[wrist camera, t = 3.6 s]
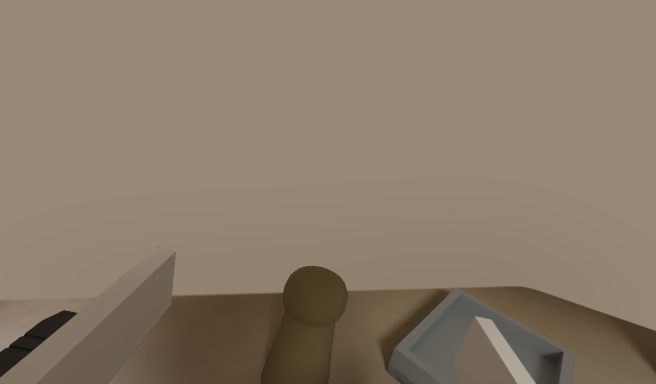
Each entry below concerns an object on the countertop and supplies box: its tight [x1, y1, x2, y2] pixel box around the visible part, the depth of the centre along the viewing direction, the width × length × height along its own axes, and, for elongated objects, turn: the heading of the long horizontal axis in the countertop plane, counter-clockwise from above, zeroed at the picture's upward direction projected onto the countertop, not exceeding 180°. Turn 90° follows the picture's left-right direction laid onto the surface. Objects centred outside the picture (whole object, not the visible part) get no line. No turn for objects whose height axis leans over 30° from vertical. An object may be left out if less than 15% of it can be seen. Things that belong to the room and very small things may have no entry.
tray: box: [386, 287, 575, 384], centre depth 33 cm, size 18×14×3 cm
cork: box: [261, 266, 348, 384], centre depth 26 cm, size 6×6×11 cm
